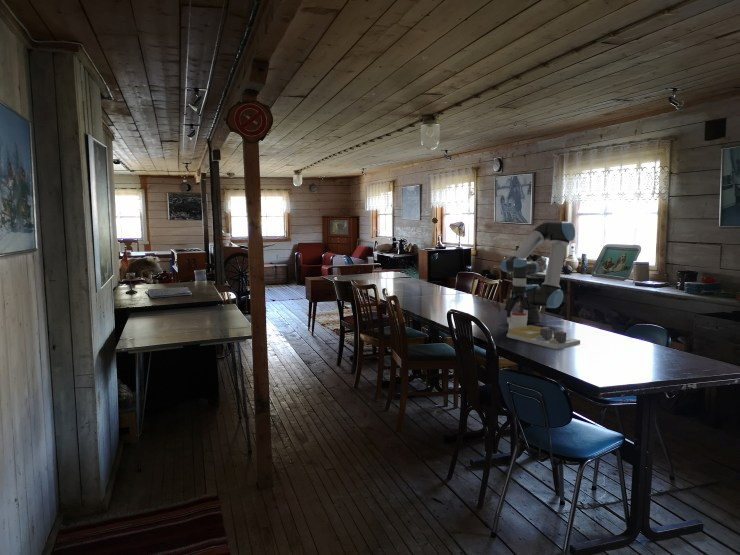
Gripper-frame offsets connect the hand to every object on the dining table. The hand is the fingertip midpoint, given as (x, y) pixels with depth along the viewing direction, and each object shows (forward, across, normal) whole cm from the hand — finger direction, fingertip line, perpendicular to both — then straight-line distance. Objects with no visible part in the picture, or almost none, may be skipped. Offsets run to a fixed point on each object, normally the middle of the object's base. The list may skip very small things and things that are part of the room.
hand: (517, 321), depth 305 cm
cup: (+6, -1, 0) cm, 6 cm away
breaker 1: (+3, +10, +27) cm, 29 cm away
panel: (+6, +6, +23) cm, 24 cm away
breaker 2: (+3, +10, +36) cm, 37 cm away
